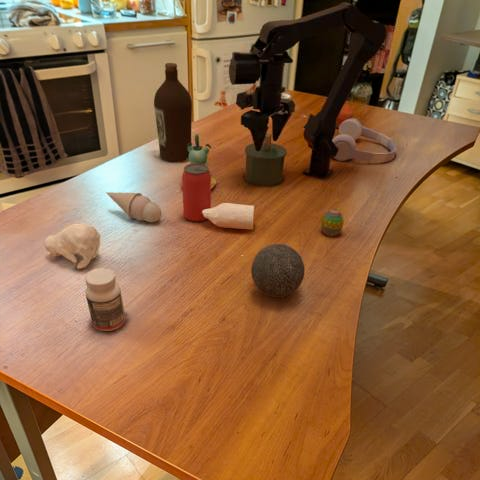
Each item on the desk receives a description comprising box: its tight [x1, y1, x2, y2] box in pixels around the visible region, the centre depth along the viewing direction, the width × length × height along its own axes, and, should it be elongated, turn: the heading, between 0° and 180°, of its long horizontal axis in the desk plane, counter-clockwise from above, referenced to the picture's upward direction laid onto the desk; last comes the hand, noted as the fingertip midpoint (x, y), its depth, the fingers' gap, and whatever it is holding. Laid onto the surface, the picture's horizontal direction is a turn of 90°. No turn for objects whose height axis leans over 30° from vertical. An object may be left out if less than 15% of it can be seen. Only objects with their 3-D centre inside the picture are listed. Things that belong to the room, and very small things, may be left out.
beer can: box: [181, 163, 212, 222], centre depth 108 cm, size 7×7×12 cm
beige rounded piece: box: [44, 222, 101, 270], centre depth 93 cm, size 6×8×12 cm
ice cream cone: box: [105, 192, 162, 223], centre depth 108 cm, size 6×6×15 cm
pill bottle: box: [84, 267, 126, 332], centre depth 78 cm, size 6×6×10 cm
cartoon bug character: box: [180, 133, 217, 189], centre depth 120 cm, size 10×18×15 cm, turn 171°
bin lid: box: [244, 133, 288, 160], centre depth 124 cm, size 11×11×5 cm
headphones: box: [332, 117, 398, 163], centre depth 147 cm, size 22×7×20 cm
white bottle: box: [202, 202, 255, 231], centre depth 107 cm, size 6×12×6 cm, turn 85°
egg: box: [321, 208, 344, 237], centre depth 106 cm, size 5×5×6 cm
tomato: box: [336, 102, 354, 129], centre depth 165 cm, size 9×9×8 cm
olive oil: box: [153, 62, 193, 163], centre depth 132 cm, size 11×11×25 cm
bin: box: [244, 153, 286, 187], centre depth 128 cm, size 10×10×8 cm
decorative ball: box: [250, 243, 305, 298], centre depth 87 cm, size 10×10×10 cm
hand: (266, 145), depth 124 cm, fingers open, 9 cm apart
